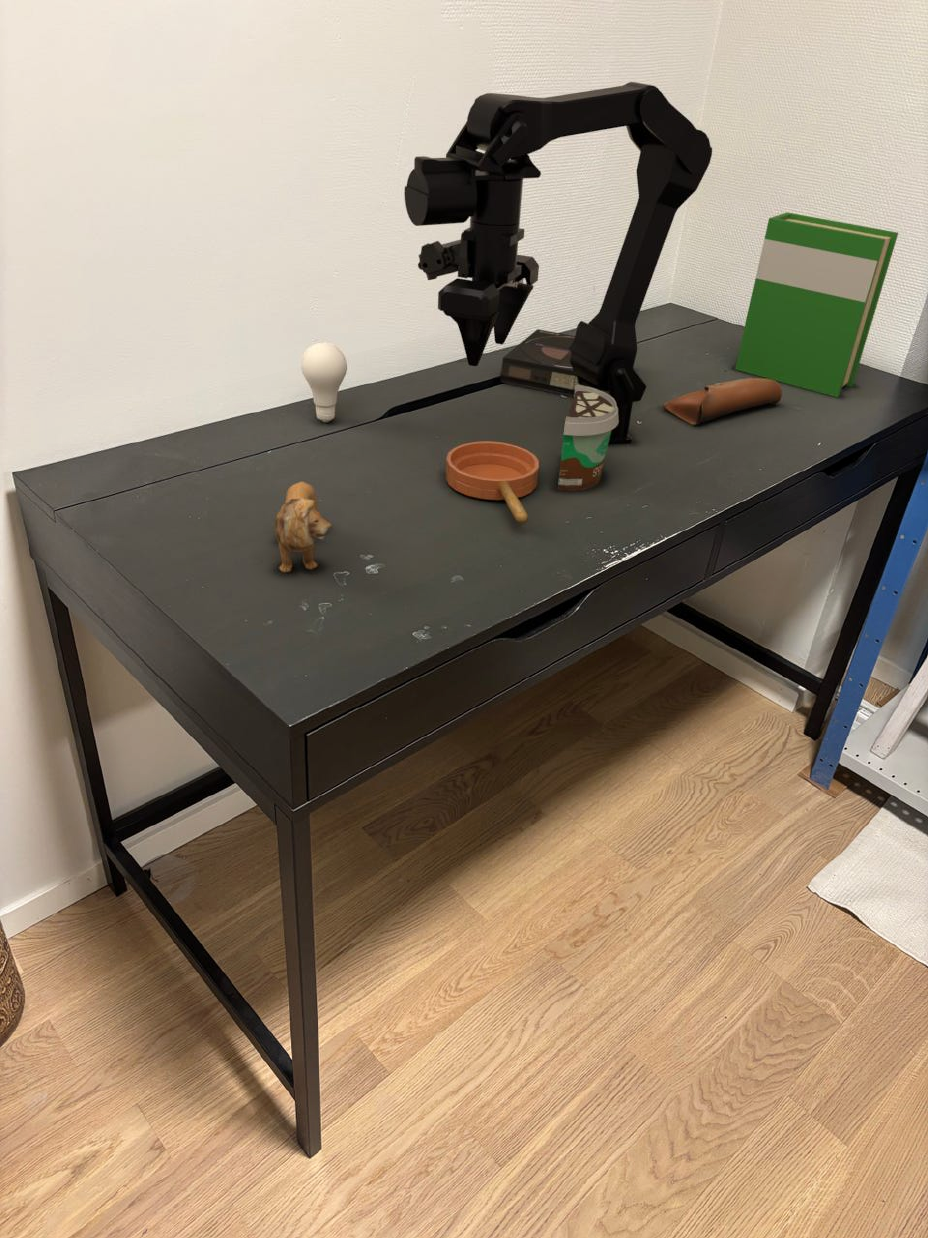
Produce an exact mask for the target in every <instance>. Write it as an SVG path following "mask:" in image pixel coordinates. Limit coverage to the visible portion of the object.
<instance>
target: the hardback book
mask: <svg viewBox="0 0 928 1238" xmlns="http://www.w3.org/2000/svg"><path fill="white" fill-rule="evenodd" d="M898 236H899V232H898V231H892V230H888V229H887V230H886V229H880V228H875V227H870V226H866V225H865V226H863V225H860V224H854V223H847V222H842V221H836V220H831V219H826V218H821V217H815V216H810V215H804V214H799V213H794V212H793V213H792V212H787V211H786V212H783V213H780V214H777V215H775V216H771V217H769V218H768V221H767V226H766V230H765V235H764V239H763V243H762V247H761V253H760V257H759V262H758V265H757V270H756V275H755V279H754V284H753V286H752V287H753V288H752V292H751V297H750V301H749V305H748V311H747V316H746V319H745V324H744V327H743V328H744V329H743V332H742V337H741V340H740V346H739V351H738V354H737V358H736V364H735V368H734V370H736V371H739V372H743V373H746V374H747V373H748V374H751V375H753V376H758V377H760V378H764V379H771V380H775V381H777V382H778V383H783V384H787V385H791V386H794V387H798V388H801V389H805V390H809V391H813V392H816V393H819V394H823V395H827V396H831V397H834V398H839V397H840V395H841V392H842V388H843V387H844V386H845V387H849V388H852V387H853V386H854V382H855V379H856V376H857V373H858V369H859V366H860V363H861V359H862V356H863V353H864V349H865V347H866V343H867V339H868V336H869V333H870V329H871V326H872V322H873V320H874V316H875V312H876V309H877V306H878V303H879V299H880V296H881V292H882V289H883V286H884V282H885V279H886V276H887V272H888V270H889V267H890V263H891V261H892V260H891V259H892V257H893V253H894V249H895V247H896V242H897V239H898Z"/></svg>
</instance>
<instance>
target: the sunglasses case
mask: <svg viewBox="0 0 928 1238" xmlns="http://www.w3.org/2000/svg"><path fill="white" fill-rule="evenodd" d="M782 396H783V389H782V386H781V385H780V382H779V381H776V380H772V379H768V378H765V377H760V378H759V377H753V378H752V377H751V378H740V379H735V380H729V381H724V382H723V381H722V382H719V383H717V382H716V383H714V384H709V385H705V386H704V388H703V389H700V390H696V391H693V392H688V393H687V394H684V395H680V396H678V397H675V398H673V399H670V400H668V401H667V402H665V403H664V404H663V407H664V409H665V410H667V411H668V412H669V413H671V414H672V415H673V416H675V417H676V418H678V419H680V420H682V421H684V422H686V423H688V424H690V425H692V426H696V425H699V424H700V423H702V422H703V423H705V422H708V421H712V420H714V419H716V418H717V419H718V418H720V417H723V416H726V415H728V414H731V413H733V412H739V411H743V410H747V409H751V408H753V407H754V408H755V407H760V406H762V405H767V404H770V403H772V404H775V405H776V404H778V403H779V402H780V401H781V400H782V398H783V397H782Z"/></svg>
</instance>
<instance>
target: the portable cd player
mask: <svg viewBox="0 0 928 1238" xmlns="http://www.w3.org/2000/svg"><path fill="white" fill-rule="evenodd" d="M574 338H575V335H573V334H572V335H571V334H566V333H560V332H556V331H550V330H544V329H539V328H537V329H536V330H534V331H533V332H532V333H531V334H530V335H528V336H527V337H526V338H525V339H523V340H522V341H521V342H520V343H518V344H517V345H516V346H515V347H514V348H513V349H511V350H510V351H508V352H507V353H506V354H505V355H504V356H503V357H502V361H501V368H500V373H499V378H500V382H501V383H502V384H503V383H504V384H507V385H513V386H517V387H522V388H528V389H533V390H538V391H541V392H542V391H543V392H548V393H552V394H558V395H563V396H567V397H572V398H574V394H575V386H576V385H580V384H578V380H577V375H576V373H575V372H574V370H573V368H572V365H571V364H570V357H571V352H572V351H570V350H569V347H570V346H571V344H572V343H573V341H574ZM582 386H583V385H582Z"/></svg>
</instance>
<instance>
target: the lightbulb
mask: <svg viewBox="0 0 928 1238" xmlns="http://www.w3.org/2000/svg"><path fill="white" fill-rule="evenodd" d="M300 365H301V367H300V368H301V372H302V375H303V378H304V379H305V381H306V382H307V384H308V386H309V387H310V390H311V393H312V397H313V404H314V405H315V413H316V418H317V419H318V420H320V421H322V422H323V423H329V422H330V421H332V420H333V419H335V417H336V405H337V402H338V394H339V390H340V387H341V386H342V383H343V381H344V380H345V377H346V376H347V371H348V363H347V359H346V356H345V354H344V352H343V350H341V349H340V348H339V347H338V346H336V345H335V344H332V343H330V342H326V341H323V342H316V343H314V344H312V345H310V346H309V347H307V349H306V350H305V352H304V353H303V355H302V357H301V363H300Z"/></svg>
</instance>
